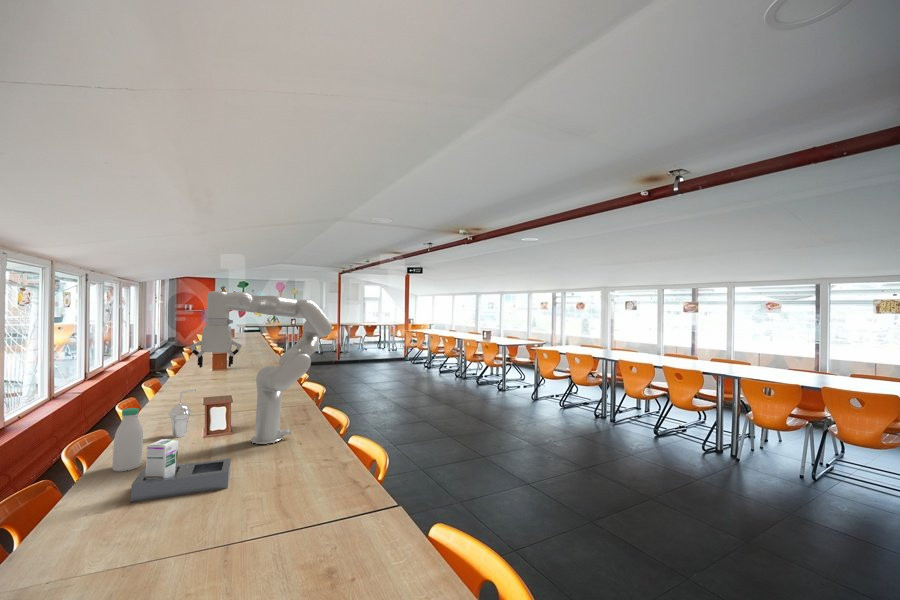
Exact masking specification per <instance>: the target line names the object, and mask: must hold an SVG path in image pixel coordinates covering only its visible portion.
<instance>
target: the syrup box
mask: <svg viewBox="0 0 900 600" xmlns="http://www.w3.org/2000/svg"><path fill="white" fill-rule="evenodd" d="M145 456H146V457H145V469H146V475H145V480H151V479H159V478H167V477H175V476H176V474H177V465H178V459H179V457H178V456H179V440H178V439H176V438H175V439H172V438H165V439H164V438H163V439H159V440H157V441H155V442H152V443H151V444H148V445H146V453H145Z"/></svg>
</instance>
